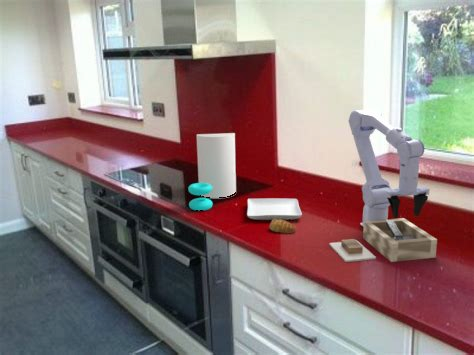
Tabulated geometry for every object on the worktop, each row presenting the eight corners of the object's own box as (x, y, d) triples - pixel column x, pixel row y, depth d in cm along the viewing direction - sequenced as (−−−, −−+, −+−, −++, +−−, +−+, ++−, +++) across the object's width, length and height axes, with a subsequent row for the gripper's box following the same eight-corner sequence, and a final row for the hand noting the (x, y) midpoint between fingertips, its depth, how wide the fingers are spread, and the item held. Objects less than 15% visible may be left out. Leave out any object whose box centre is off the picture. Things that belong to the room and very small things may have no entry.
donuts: (190, 181, 204) (213, 182, 203) (191, 204, 206) (214, 204, 205) (185, 188, 194) (209, 188, 193) (186, 211, 197) (210, 211, 196)
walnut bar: (341, 245, 157) (341, 239, 157) (354, 244, 158) (354, 238, 158) (348, 254, 151) (349, 248, 150) (362, 252, 151) (362, 247, 151)
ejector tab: (375, 223, 160) (376, 220, 159) (402, 221, 162) (403, 217, 161) (392, 254, 150) (394, 251, 149) (421, 251, 151) (423, 248, 150)
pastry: (298, 229, 175) (298, 220, 174) (291, 236, 169) (291, 226, 168) (275, 225, 179) (275, 216, 178) (267, 231, 173) (267, 222, 172)
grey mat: (329, 244, 160) (329, 243, 160) (357, 242, 161) (357, 240, 161) (345, 262, 146) (345, 260, 146) (375, 259, 148) (376, 257, 148)
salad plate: (302, 222, 182) (302, 214, 181) (247, 223, 183) (247, 214, 182) (297, 205, 202) (297, 197, 202) (247, 206, 203) (247, 198, 202)
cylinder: (237, 197, 214) (236, 136, 207) (199, 199, 213) (196, 137, 206) (234, 187, 231) (233, 130, 223) (199, 188, 230) (196, 131, 222)
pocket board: (362, 237, 165) (363, 221, 163) (402, 234, 167) (403, 218, 166) (391, 262, 146) (392, 243, 144) (435, 257, 148) (437, 239, 147)
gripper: (394, 181, 149) (391, 222, 153) (436, 178, 152) (432, 218, 155) (383, 176, 156) (381, 215, 159) (423, 173, 158) (420, 211, 162)
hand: (405, 216), depth 158 cm, fingers open, 7 cm apart
